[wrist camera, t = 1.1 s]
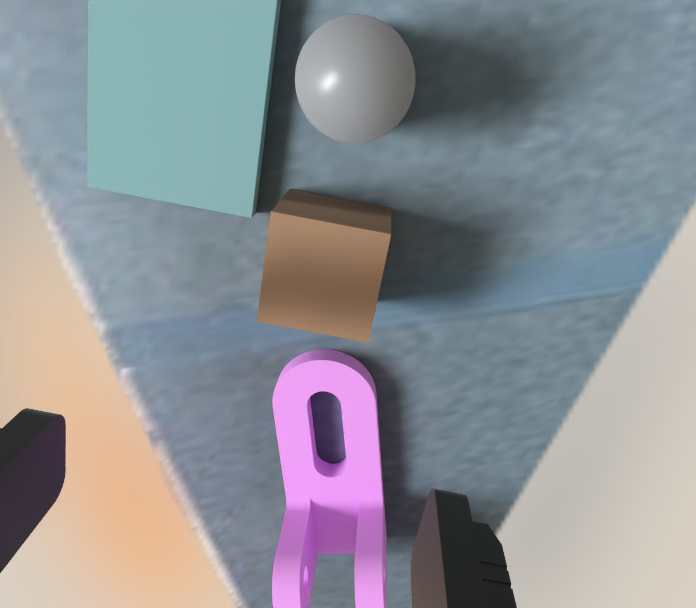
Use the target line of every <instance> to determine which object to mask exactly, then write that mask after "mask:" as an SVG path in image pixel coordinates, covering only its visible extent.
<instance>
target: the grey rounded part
mask: <svg viewBox="0 0 696 608" xmlns="http://www.w3.org/2000/svg"><path fill="white" fill-rule="evenodd" d="M415 79H416V75H415V67H414V62H413V58H412V56H411V53H410V50H409V48H408V47H407V45H406V43H405V41H404V40H403V39H402V37H401V36H400V35H399V34H398V33H397V32H396V31H395V30H394V29H393V28H392V27H391V26H389V25H388V24H386V23H385V22H383V21H381V20H379V19H377V18H374V17H371V16H367V15H360V14H350V15H344V16H340V17H337V18H334V19H332V20H330V21H328V22H326V23H324V24H323V25H322V26H320V27H319V28H318V29H317V30H316V31H314V32H313V33H312V35H311V36H310V37H309V38H308V40H307V41H306V43H305V44H304V46H303V48H302V50H301V52H300V54H299V57H298V60H297V65H296V70H295V88H296V94H297V98H298V101H299V104H300V106H301V108H302V111H303V112H304V114H305V116H306V117H307V119H308V120H309V121H310V122H311V124H312V125H313V126H314V127H315V128H316V129H318V130H319V131H320V132H321V133H323V134H324V135H326V136H328V137H330V138H332V139H334V140H337V141H340V142H344V143H366V142H370V141H373V140H376V139H378V138H380V137H382V136H384V135H386V134H387V133H389V132H390V131H391V130H393V129H394V128H395V127H396V126H397V125H398V124H399V123H400V121H401V120H402V119H403V117H404V116H405V114H406V113H407V111H408V109H409V107H410V104H411V102H412V99H413V95H414V91H415Z"/></svg>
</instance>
